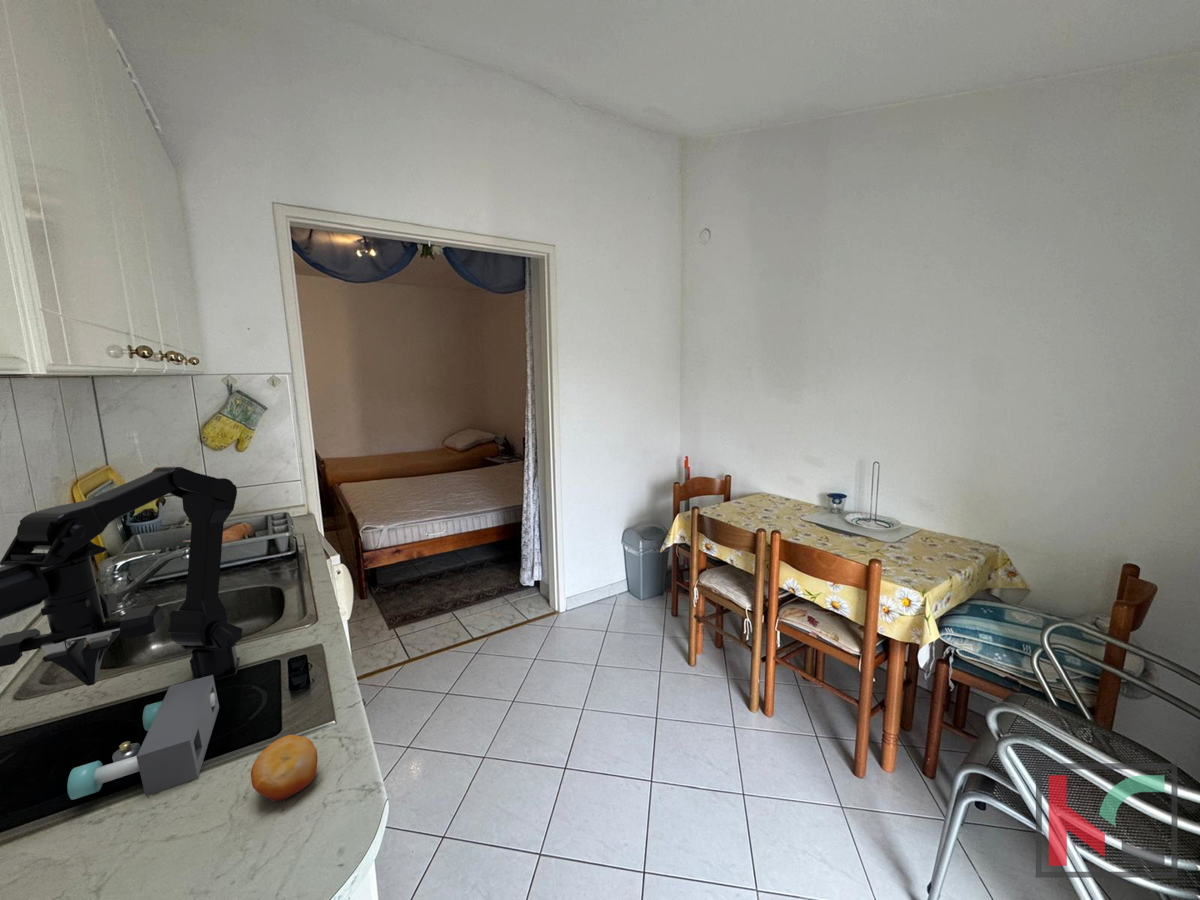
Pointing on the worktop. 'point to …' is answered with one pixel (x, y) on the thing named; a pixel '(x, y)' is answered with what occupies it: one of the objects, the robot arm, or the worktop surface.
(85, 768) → the knob
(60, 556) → the robot arm
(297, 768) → the fruit
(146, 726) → the knob
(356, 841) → the worktop surface
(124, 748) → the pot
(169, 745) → the mount
